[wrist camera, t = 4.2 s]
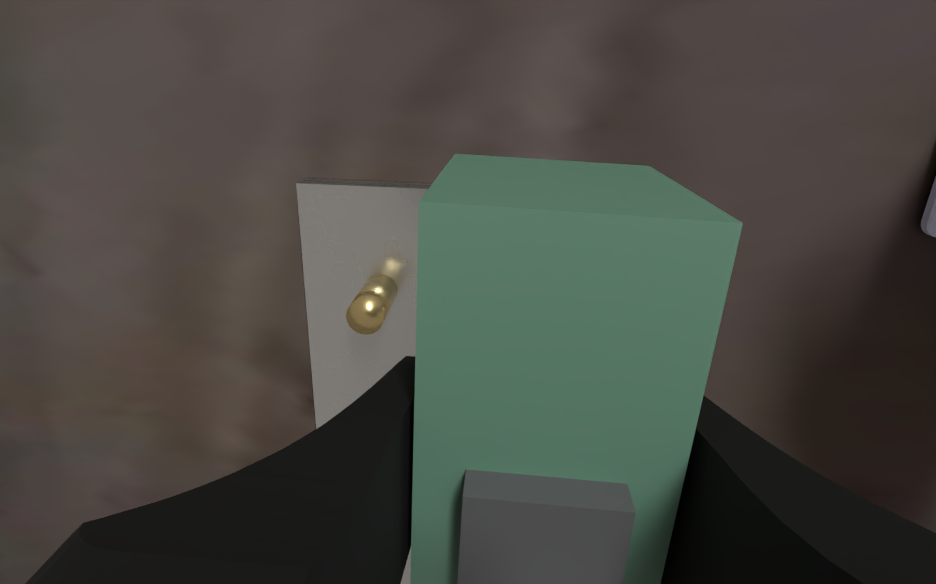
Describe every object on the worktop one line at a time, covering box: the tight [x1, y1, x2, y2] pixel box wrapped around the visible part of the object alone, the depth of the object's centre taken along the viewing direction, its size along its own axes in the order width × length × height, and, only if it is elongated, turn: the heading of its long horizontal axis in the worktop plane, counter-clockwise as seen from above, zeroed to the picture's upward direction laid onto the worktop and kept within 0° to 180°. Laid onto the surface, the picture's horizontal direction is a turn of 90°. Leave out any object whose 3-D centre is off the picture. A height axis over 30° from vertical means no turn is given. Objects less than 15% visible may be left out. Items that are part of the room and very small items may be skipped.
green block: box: [410, 154, 743, 584], centre depth 10 cm, size 4×8×6 cm, turn 177°
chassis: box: [296, 178, 433, 584], centre depth 21 cm, size 12×18×4 cm, turn 178°
